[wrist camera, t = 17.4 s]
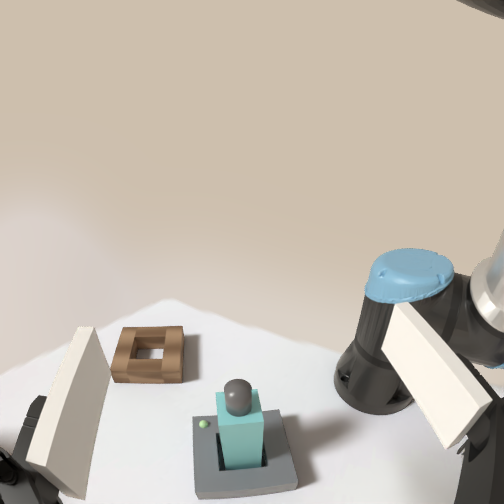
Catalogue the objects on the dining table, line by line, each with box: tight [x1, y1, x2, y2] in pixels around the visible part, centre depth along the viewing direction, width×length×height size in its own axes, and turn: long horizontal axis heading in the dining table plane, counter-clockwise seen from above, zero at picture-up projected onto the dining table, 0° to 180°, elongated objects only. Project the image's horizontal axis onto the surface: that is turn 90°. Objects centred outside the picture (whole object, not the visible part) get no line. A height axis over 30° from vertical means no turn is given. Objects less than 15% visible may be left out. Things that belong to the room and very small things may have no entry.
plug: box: [216, 379, 264, 471], centre depth 30 cm, size 4×4×16 cm
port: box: [193, 409, 298, 499], centre depth 32 cm, size 12×12×4 cm
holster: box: [110, 326, 184, 383], centre depth 50 cm, size 12×12×3 cm
